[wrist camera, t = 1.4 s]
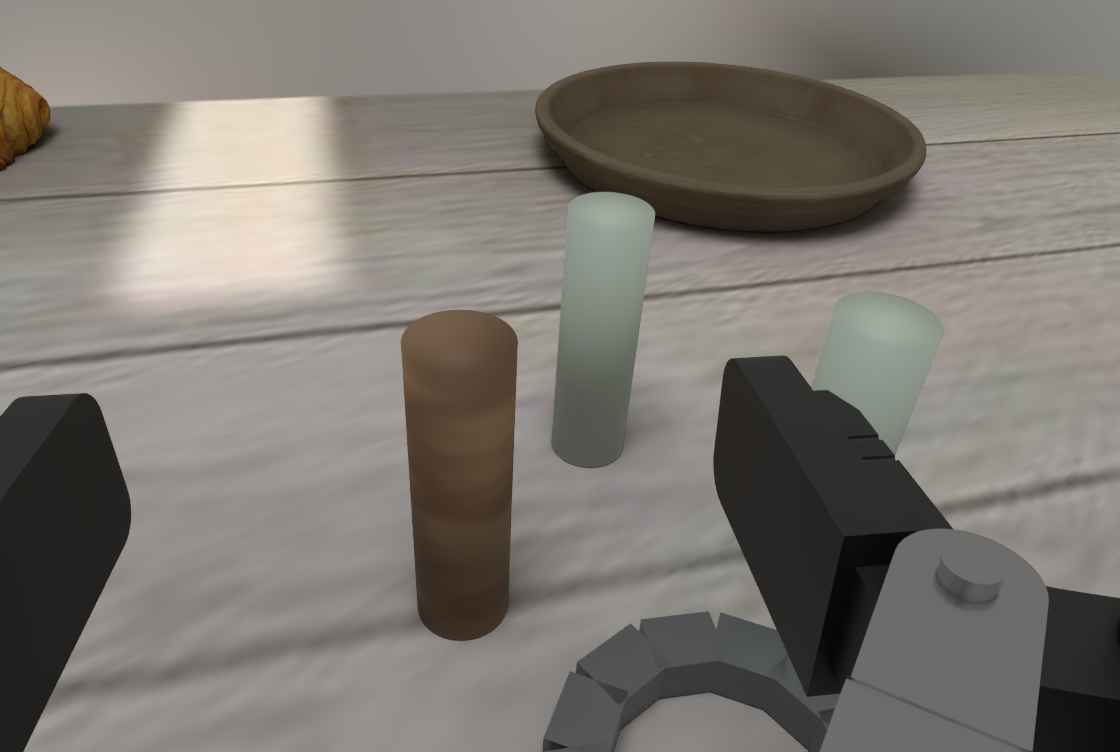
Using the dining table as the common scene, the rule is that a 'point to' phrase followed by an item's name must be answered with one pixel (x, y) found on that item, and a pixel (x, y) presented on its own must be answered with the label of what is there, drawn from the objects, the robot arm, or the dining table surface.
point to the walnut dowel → (460, 466)
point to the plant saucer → (730, 143)
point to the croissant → (19, 116)
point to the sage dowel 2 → (879, 358)
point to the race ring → (683, 680)
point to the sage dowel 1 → (599, 324)
